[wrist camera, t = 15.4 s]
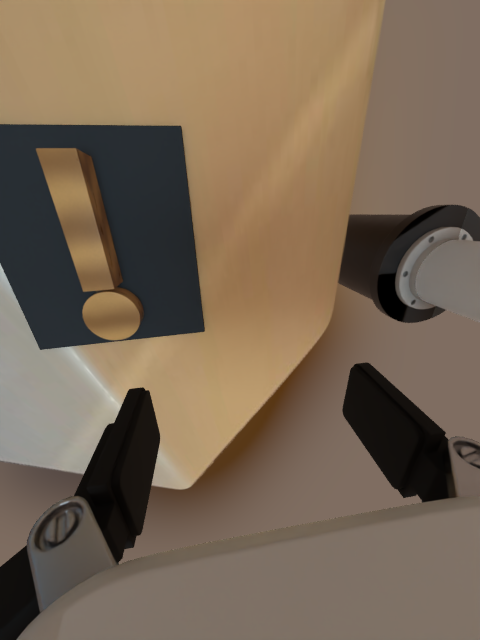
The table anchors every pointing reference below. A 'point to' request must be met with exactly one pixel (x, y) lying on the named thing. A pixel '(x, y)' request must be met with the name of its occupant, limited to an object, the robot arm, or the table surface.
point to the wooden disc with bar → (90, 242)
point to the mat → (124, 222)
